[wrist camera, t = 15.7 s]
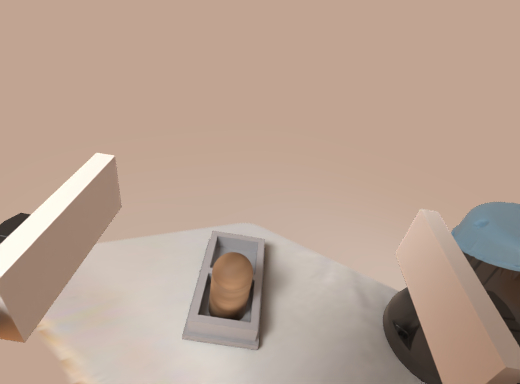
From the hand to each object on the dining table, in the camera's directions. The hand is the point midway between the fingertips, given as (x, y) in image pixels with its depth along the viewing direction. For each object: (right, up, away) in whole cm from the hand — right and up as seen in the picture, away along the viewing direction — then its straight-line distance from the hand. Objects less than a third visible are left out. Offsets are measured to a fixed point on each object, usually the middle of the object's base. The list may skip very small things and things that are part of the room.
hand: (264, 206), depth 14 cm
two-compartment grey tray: (-5, -14, +35) cm, 38 cm away
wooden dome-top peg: (-5, -16, +31) cm, 35 cm away
